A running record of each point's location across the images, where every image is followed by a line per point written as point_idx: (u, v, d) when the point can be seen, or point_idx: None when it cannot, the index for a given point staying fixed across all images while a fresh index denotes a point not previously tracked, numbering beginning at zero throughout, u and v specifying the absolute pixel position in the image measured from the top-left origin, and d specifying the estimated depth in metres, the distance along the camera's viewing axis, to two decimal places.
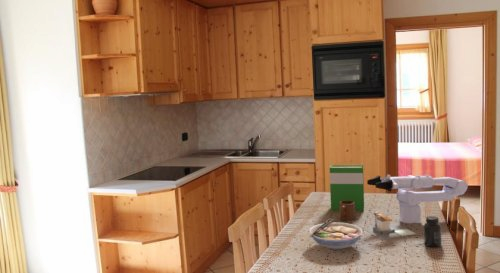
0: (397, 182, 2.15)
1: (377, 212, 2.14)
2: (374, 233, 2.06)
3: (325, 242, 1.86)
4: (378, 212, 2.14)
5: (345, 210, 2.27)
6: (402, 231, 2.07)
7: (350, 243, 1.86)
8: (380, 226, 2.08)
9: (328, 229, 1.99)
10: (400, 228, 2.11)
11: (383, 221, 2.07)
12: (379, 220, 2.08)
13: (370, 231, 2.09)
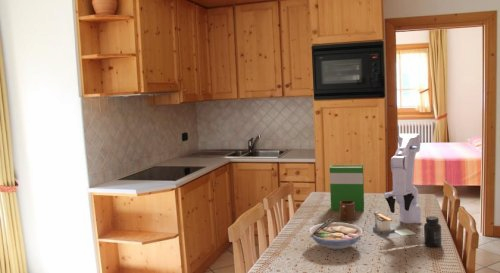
0: None
1: (377, 212, 2.14)
2: (374, 233, 2.06)
3: (325, 243, 1.86)
4: (378, 212, 2.14)
5: (345, 210, 2.27)
6: (402, 231, 2.07)
7: (350, 243, 1.86)
8: (380, 226, 2.08)
9: (328, 229, 1.99)
10: (400, 228, 2.11)
11: (383, 221, 2.07)
12: (379, 220, 2.08)
13: (370, 231, 2.09)
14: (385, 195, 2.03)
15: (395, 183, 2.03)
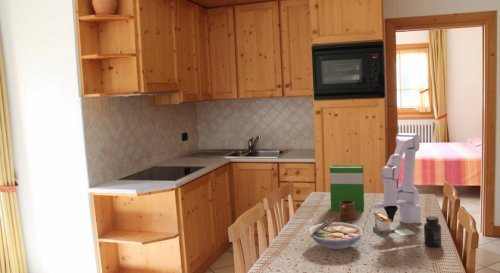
0: None
1: (377, 212, 2.14)
2: (374, 233, 2.06)
3: (325, 243, 1.86)
4: (378, 212, 2.14)
5: (345, 210, 2.27)
6: (402, 231, 2.07)
7: (350, 243, 1.86)
8: (380, 226, 2.08)
9: (328, 229, 1.99)
10: (400, 228, 2.11)
11: (383, 221, 2.07)
12: (379, 220, 2.08)
13: (370, 231, 2.09)
14: (376, 205, 2.03)
15: (386, 193, 2.02)
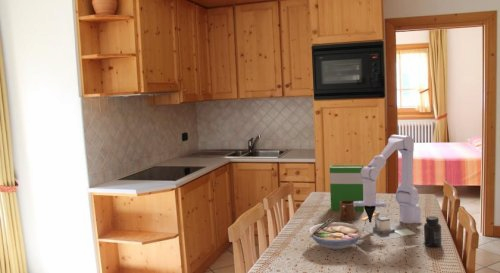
0: (375, 196, 2.04)
1: (377, 212, 2.14)
2: (374, 233, 2.06)
3: (325, 243, 1.86)
4: (377, 213, 2.14)
5: (345, 210, 2.27)
6: (402, 231, 2.07)
7: (350, 243, 1.86)
8: (380, 226, 2.08)
9: (328, 229, 1.99)
10: (400, 228, 2.11)
11: (383, 221, 2.07)
12: (379, 220, 2.08)
13: (370, 231, 2.09)
14: None
15: (363, 193, 2.05)
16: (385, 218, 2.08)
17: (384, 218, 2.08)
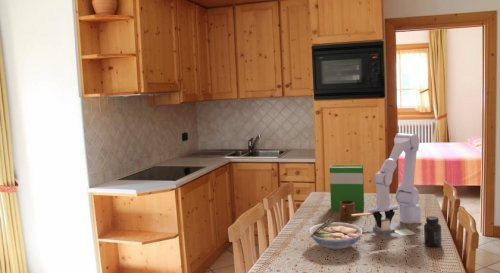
0: None
1: None
2: (374, 233, 2.06)
3: (325, 242, 1.86)
4: None
5: (345, 210, 2.27)
6: (402, 231, 2.07)
7: (350, 243, 1.86)
8: None
9: (328, 229, 1.99)
10: (400, 228, 2.11)
11: (383, 221, 2.07)
12: None
13: (370, 231, 2.09)
14: (369, 211, 2.06)
15: (379, 199, 2.06)
16: (385, 218, 2.08)
17: (384, 218, 2.08)
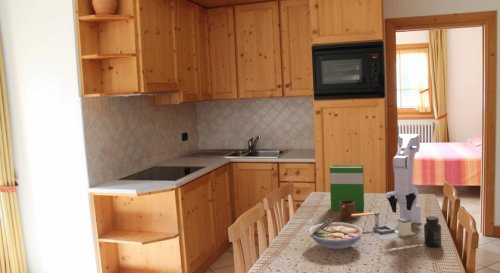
0: None
1: (376, 212, 2.14)
2: (374, 233, 2.06)
3: (325, 243, 1.86)
4: (376, 213, 2.14)
5: (345, 210, 2.27)
6: None
7: (350, 243, 1.86)
8: (401, 227, 2.04)
9: (328, 229, 1.99)
10: None
11: (404, 222, 2.02)
12: (400, 221, 2.04)
13: (370, 231, 2.09)
14: (387, 195, 2.03)
15: (397, 183, 2.03)
16: (406, 219, 2.04)
17: (405, 219, 2.04)
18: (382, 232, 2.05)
